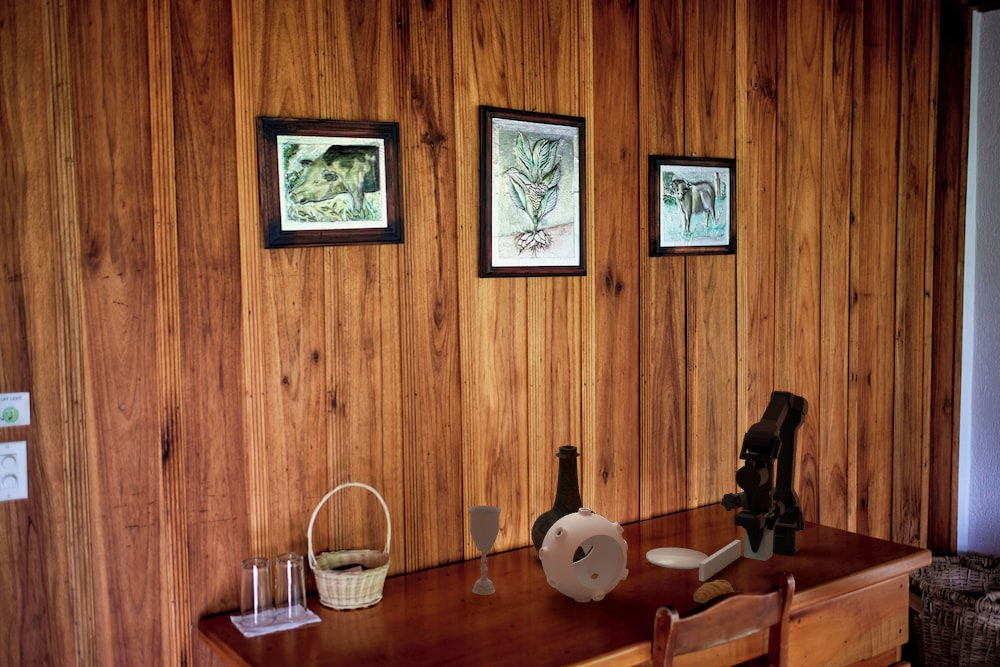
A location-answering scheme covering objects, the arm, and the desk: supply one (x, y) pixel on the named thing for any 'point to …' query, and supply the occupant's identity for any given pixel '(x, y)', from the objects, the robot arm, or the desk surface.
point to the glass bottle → (562, 499)
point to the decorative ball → (601, 560)
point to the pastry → (712, 590)
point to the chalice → (484, 540)
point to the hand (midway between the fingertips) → (758, 549)
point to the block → (764, 549)
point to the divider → (719, 560)
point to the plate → (676, 558)
